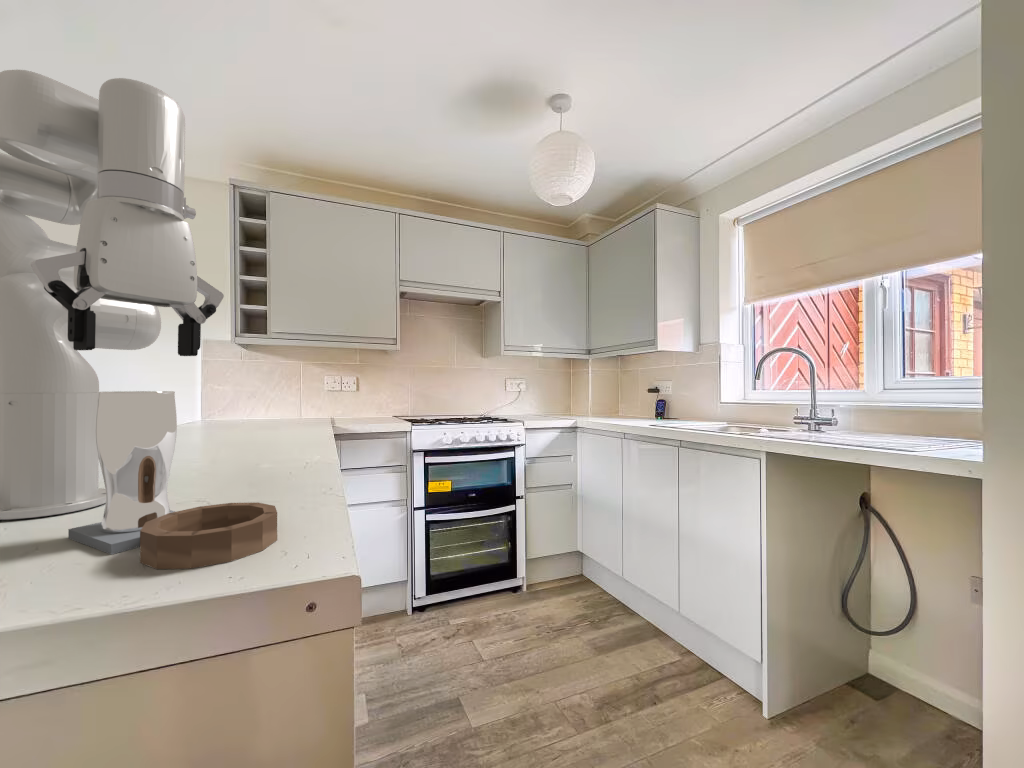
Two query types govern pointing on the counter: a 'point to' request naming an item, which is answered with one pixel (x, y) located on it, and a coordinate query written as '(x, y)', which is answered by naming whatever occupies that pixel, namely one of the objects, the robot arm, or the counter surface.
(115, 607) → the counter surface
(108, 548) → the slate mat
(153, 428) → the beer glass
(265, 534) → the ring
